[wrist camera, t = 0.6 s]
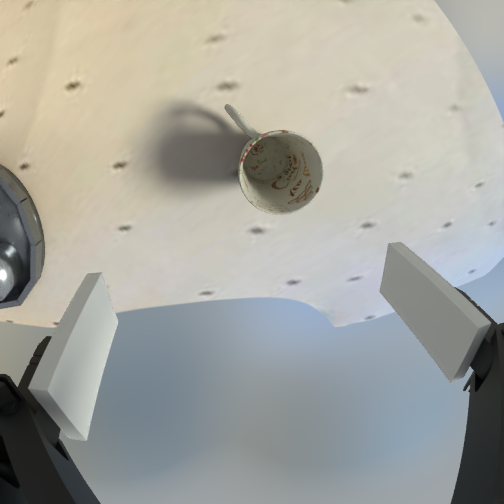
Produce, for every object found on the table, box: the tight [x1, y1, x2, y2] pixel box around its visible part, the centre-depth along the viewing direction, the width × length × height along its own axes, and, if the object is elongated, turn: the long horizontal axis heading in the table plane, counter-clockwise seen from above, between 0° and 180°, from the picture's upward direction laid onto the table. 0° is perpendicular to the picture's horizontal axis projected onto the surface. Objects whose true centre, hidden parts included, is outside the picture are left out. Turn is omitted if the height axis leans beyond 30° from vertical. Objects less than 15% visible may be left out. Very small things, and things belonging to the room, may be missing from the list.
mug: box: [225, 104, 324, 215], centre depth 32 cm, size 8×12×10 cm, turn 39°
